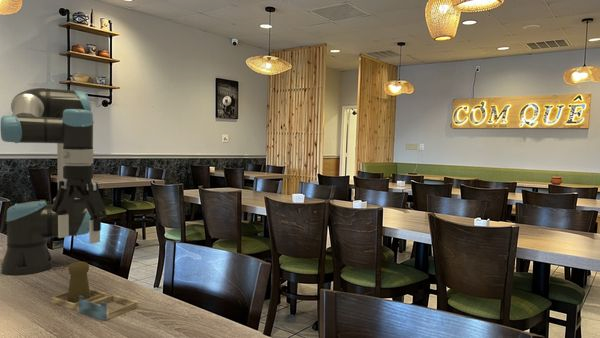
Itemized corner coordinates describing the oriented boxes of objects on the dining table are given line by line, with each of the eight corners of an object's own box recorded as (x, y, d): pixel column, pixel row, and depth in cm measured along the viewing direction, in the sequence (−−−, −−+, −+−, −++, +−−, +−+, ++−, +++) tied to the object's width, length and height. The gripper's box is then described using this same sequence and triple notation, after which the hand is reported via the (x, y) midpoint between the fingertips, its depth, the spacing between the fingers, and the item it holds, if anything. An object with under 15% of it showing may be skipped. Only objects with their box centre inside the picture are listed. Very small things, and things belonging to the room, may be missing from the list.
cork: (80, 305, 117) (80, 266, 117) (61, 303, 119) (61, 264, 118) (95, 297, 123) (95, 260, 123) (77, 295, 125) (77, 258, 124)
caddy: (48, 303, 118) (48, 287, 118) (83, 291, 128) (83, 277, 128) (104, 320, 108) (104, 303, 108) (138, 306, 117) (138, 291, 117)
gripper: (37, 163, 121) (38, 237, 122) (96, 166, 110) (96, 247, 111) (62, 163, 128) (63, 232, 129) (120, 166, 116) (120, 242, 117)
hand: (78, 239), depth 120 cm, fingers open, 13 cm apart
